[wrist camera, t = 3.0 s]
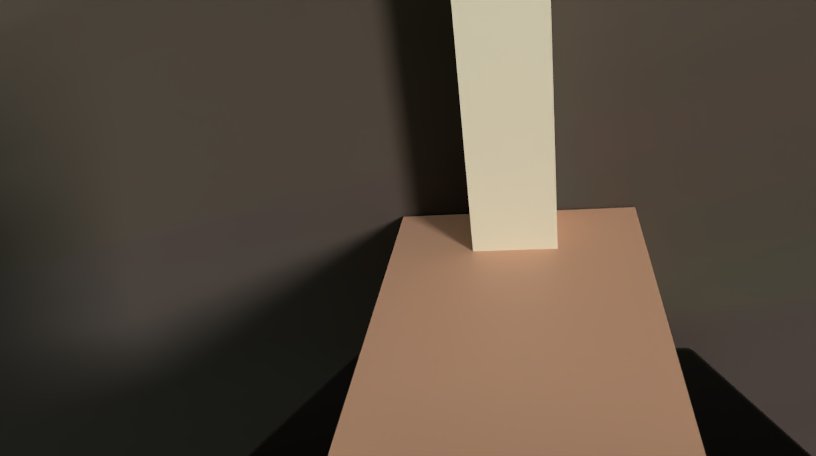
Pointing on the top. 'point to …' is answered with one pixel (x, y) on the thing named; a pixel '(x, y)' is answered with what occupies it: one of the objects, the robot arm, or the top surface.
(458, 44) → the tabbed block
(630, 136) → the top surface
